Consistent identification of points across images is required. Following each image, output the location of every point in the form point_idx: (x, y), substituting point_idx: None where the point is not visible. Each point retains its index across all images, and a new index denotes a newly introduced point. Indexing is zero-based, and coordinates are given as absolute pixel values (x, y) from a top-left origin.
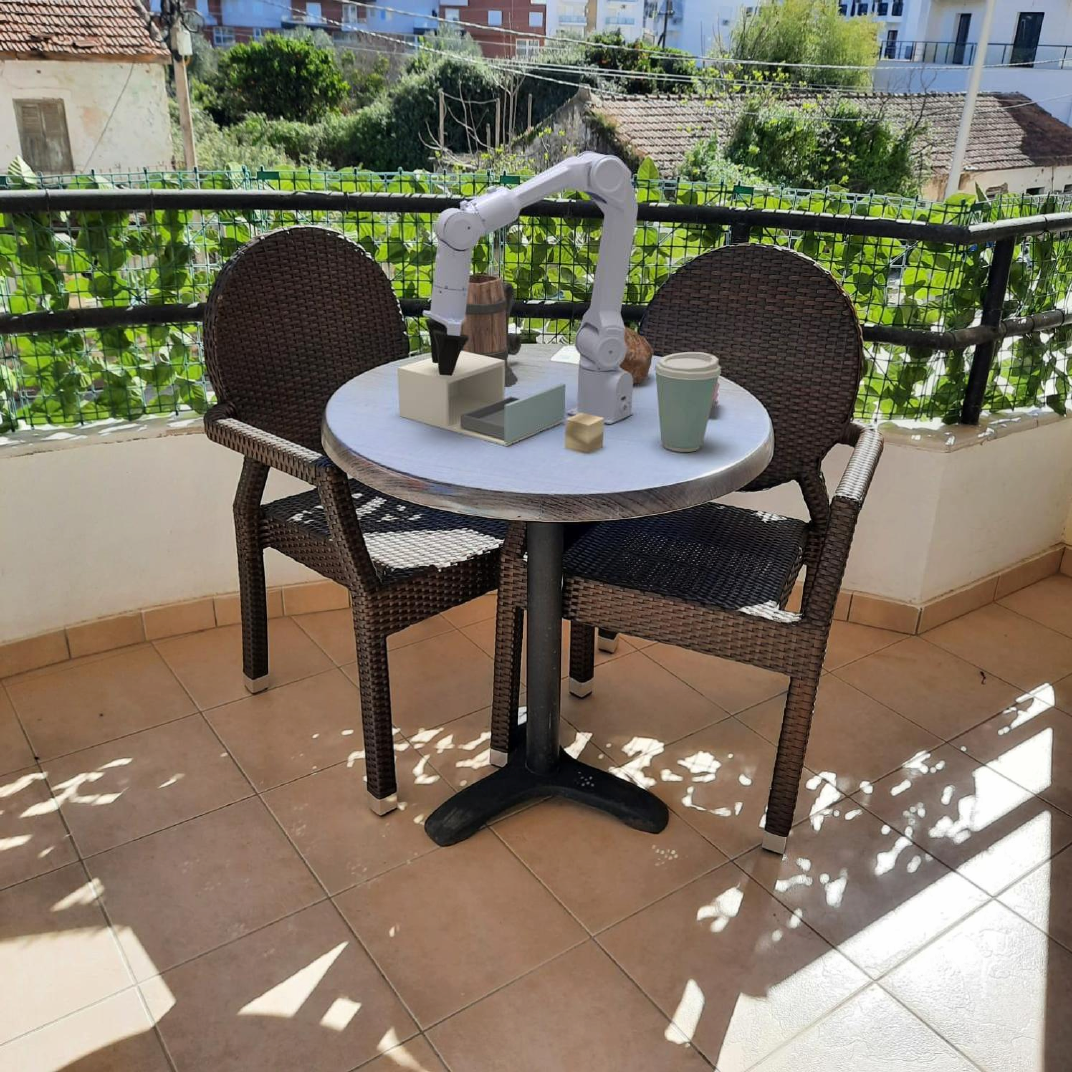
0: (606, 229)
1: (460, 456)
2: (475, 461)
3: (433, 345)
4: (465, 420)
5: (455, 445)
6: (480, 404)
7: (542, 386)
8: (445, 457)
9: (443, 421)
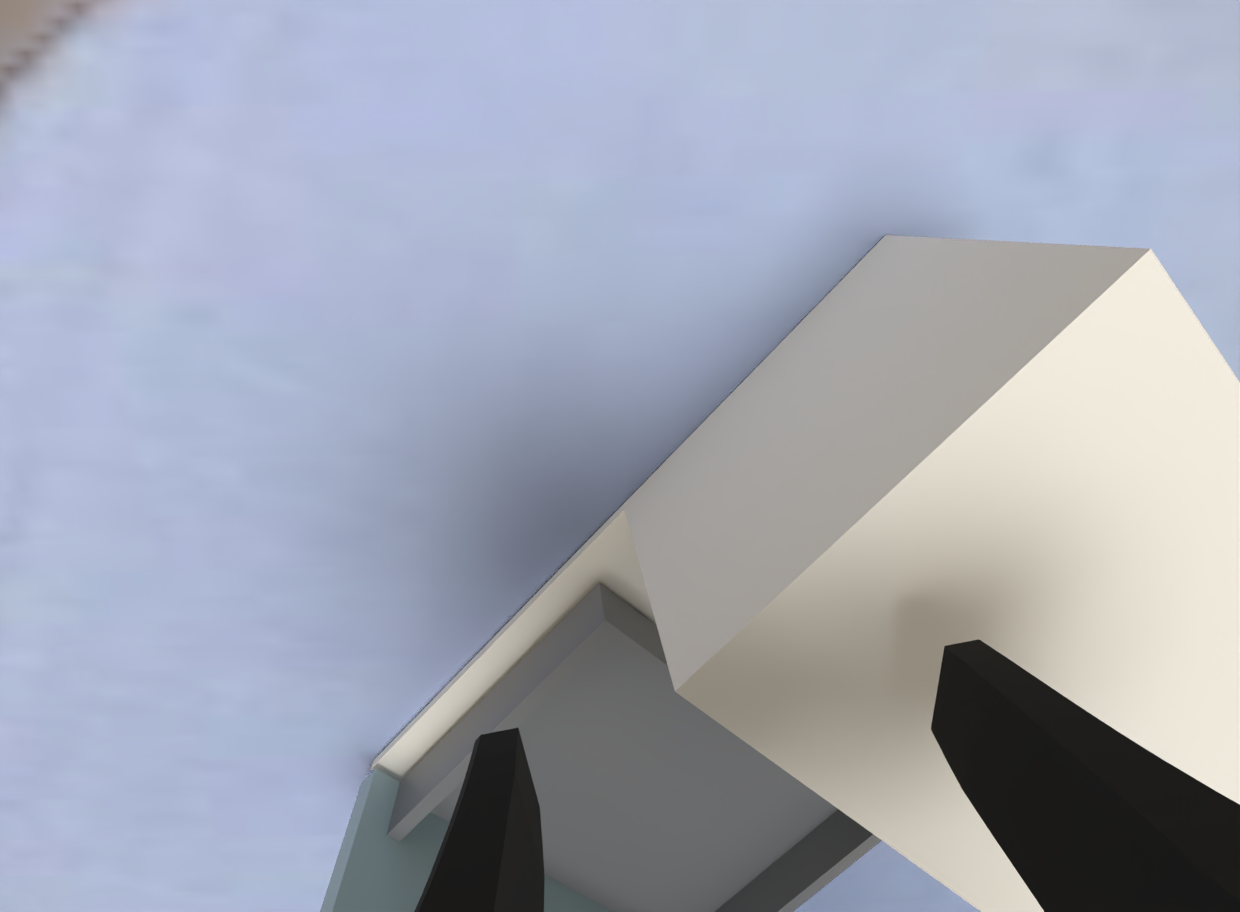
0: None
1: (203, 576)
2: (140, 642)
3: (1100, 801)
4: (577, 630)
5: (372, 550)
6: None
7: None
8: (174, 505)
9: (643, 505)
